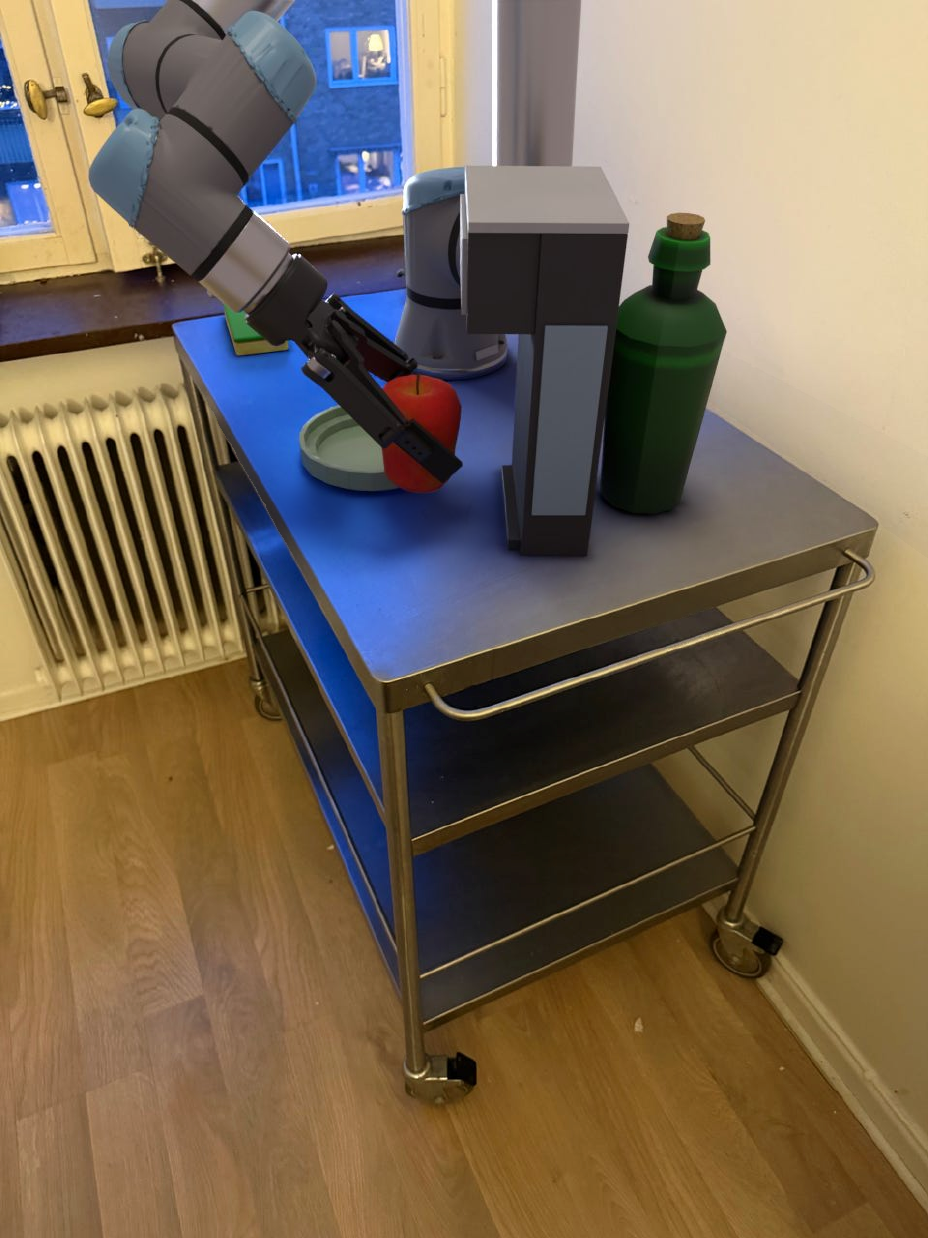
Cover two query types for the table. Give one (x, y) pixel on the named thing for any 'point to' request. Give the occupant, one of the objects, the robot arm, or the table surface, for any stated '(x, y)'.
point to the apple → (434, 412)
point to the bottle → (661, 373)
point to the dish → (342, 452)
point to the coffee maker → (547, 333)
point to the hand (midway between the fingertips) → (451, 447)
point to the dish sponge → (247, 335)
